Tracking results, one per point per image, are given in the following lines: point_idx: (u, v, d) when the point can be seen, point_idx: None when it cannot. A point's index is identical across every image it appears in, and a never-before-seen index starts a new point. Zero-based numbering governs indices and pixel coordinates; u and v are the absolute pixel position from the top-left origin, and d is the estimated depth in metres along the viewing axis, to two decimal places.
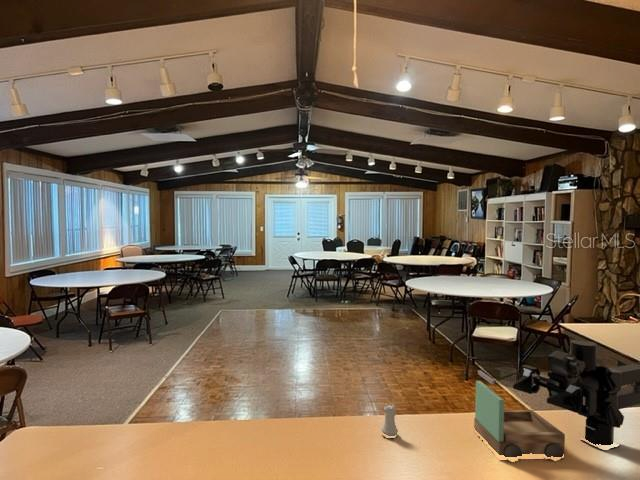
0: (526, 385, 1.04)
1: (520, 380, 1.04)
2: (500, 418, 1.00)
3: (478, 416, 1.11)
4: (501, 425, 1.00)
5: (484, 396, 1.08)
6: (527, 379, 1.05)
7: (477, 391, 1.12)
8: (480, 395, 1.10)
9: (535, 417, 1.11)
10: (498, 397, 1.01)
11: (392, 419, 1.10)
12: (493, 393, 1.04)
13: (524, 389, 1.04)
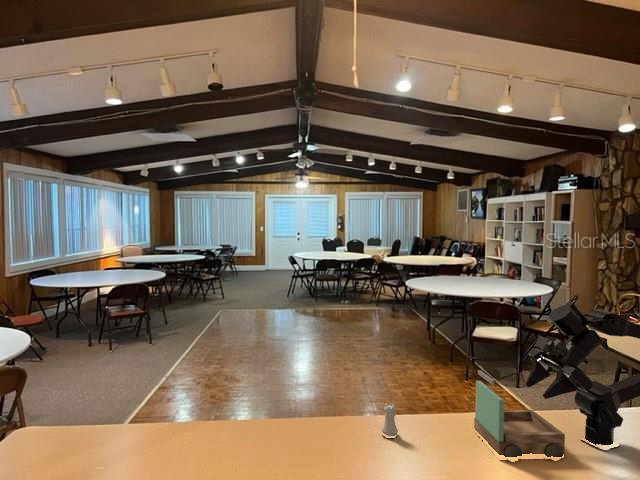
0: (539, 374, 1.11)
1: (530, 375, 1.11)
2: (500, 418, 1.00)
3: (478, 416, 1.11)
4: (501, 425, 1.00)
5: (484, 396, 1.08)
6: (536, 369, 1.11)
7: (477, 391, 1.12)
8: (480, 395, 1.10)
9: (535, 417, 1.11)
10: (498, 397, 1.01)
11: (392, 419, 1.10)
12: (493, 393, 1.04)
13: (539, 379, 1.11)
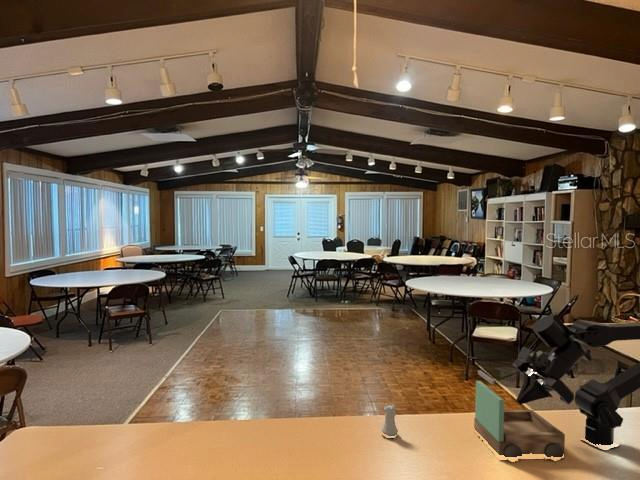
0: None
1: (521, 391, 1.08)
2: (500, 418, 1.00)
3: (478, 416, 1.11)
4: (501, 425, 1.00)
5: (484, 396, 1.08)
6: (528, 385, 1.08)
7: (477, 391, 1.12)
8: (480, 395, 1.10)
9: (535, 417, 1.11)
10: (498, 397, 1.01)
11: (392, 419, 1.10)
12: (493, 393, 1.04)
13: None
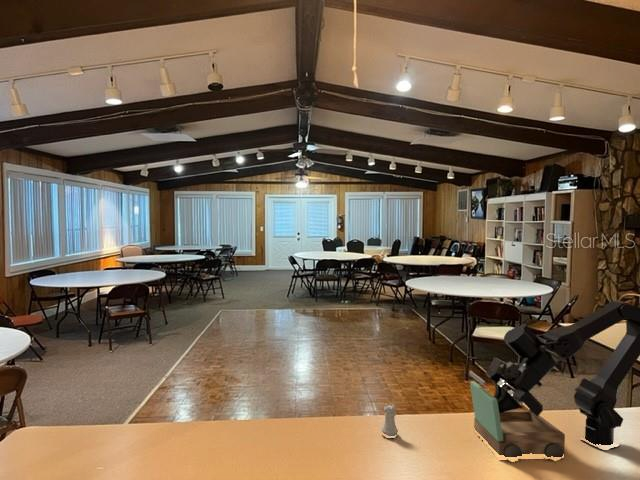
0: None
1: None
2: (496, 418, 1.00)
3: (477, 416, 1.11)
4: (499, 425, 1.00)
5: (479, 396, 1.08)
6: (499, 396, 1.07)
7: (472, 391, 1.12)
8: (475, 395, 1.10)
9: (535, 417, 1.11)
10: (491, 397, 1.01)
11: (392, 419, 1.10)
12: (486, 393, 1.04)
13: None
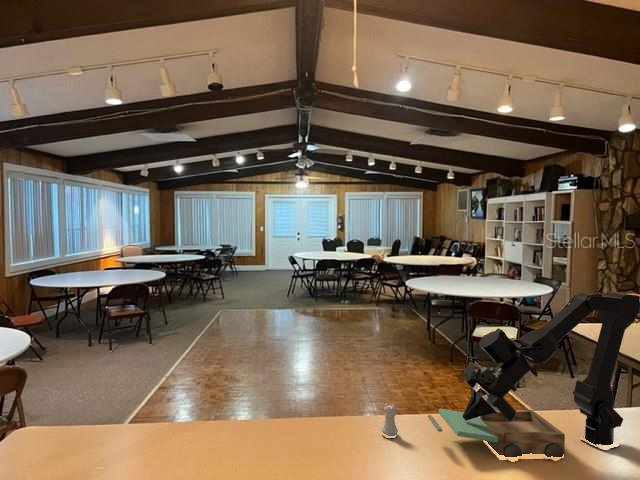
0: None
1: (467, 407, 1.07)
2: (475, 437, 1.00)
3: None
4: (482, 436, 1.00)
5: None
6: (474, 400, 1.07)
7: None
8: None
9: (535, 417, 1.11)
10: (455, 431, 1.01)
11: (392, 419, 1.10)
12: (451, 426, 1.04)
13: None
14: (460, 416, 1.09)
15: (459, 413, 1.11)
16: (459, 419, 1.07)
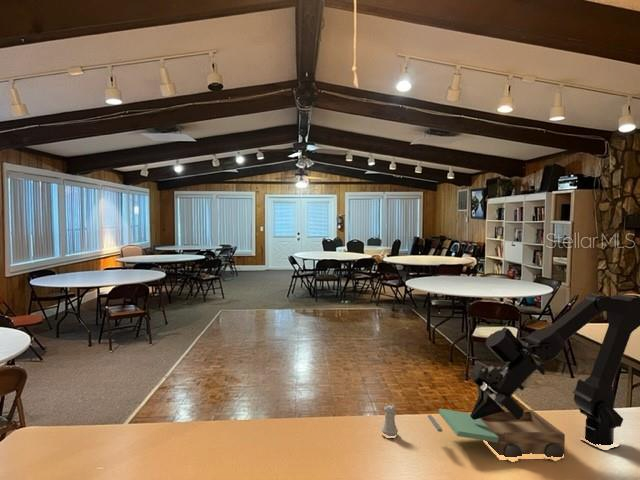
0: None
1: (475, 406, 1.07)
2: (475, 437, 1.00)
3: None
4: (482, 436, 1.00)
5: None
6: (482, 400, 1.07)
7: None
8: None
9: (535, 417, 1.11)
10: (455, 431, 1.01)
11: (392, 419, 1.10)
12: (451, 426, 1.04)
13: None
14: (460, 416, 1.09)
15: (459, 413, 1.11)
16: (459, 419, 1.07)
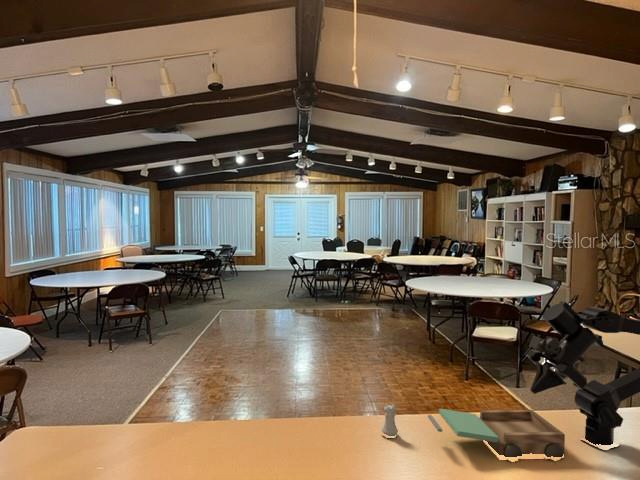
0: None
1: (535, 380, 1.08)
2: (475, 437, 1.00)
3: None
4: (482, 436, 1.00)
5: None
6: (541, 374, 1.08)
7: None
8: None
9: (535, 417, 1.11)
10: (455, 431, 1.01)
11: (392, 419, 1.10)
12: (451, 426, 1.04)
13: None
14: (460, 416, 1.09)
15: (459, 413, 1.11)
16: (459, 419, 1.07)
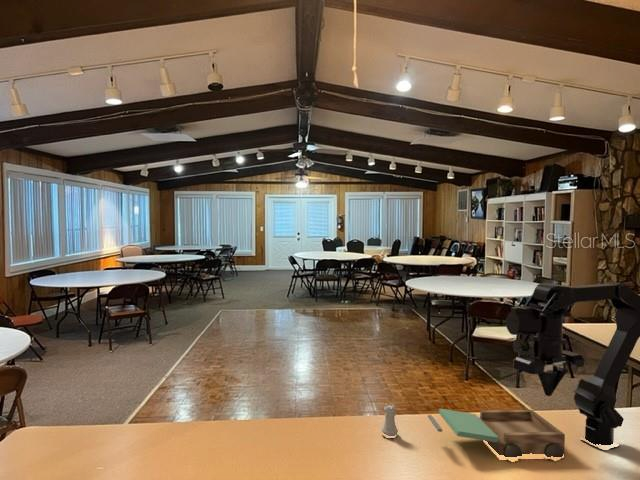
0: None
1: None
2: (475, 437, 1.00)
3: None
4: (482, 436, 1.00)
5: None
6: None
7: None
8: None
9: (535, 417, 1.11)
10: (455, 431, 1.01)
11: (392, 419, 1.10)
12: (451, 426, 1.04)
13: None
14: (460, 416, 1.09)
15: (459, 413, 1.11)
16: (459, 419, 1.07)
